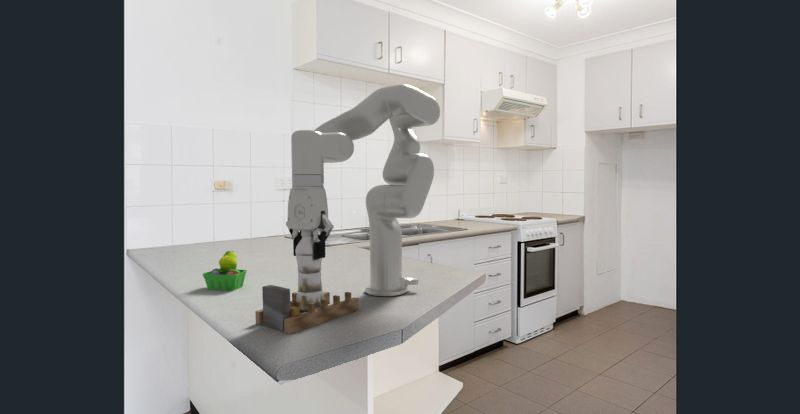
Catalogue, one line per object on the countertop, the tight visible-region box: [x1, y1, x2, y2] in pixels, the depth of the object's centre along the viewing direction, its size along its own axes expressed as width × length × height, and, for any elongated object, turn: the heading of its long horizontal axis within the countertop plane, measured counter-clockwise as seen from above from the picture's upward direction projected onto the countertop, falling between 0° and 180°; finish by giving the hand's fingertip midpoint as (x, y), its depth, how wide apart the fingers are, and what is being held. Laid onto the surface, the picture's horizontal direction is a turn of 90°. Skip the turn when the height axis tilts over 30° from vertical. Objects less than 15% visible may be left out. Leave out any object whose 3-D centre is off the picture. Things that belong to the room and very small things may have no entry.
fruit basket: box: [202, 250, 248, 291], centre depth 137 cm, size 11×9×11 cm
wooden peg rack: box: [255, 284, 360, 335], centre depth 106 cm, size 22×12×9 cm, turn 143°
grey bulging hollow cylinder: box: [295, 230, 324, 311], centre depth 106 cm, size 6×7×20 cm
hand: (309, 256), depth 106 cm, fingers closed on grey bulging hollow cylinder, 6 cm apart
